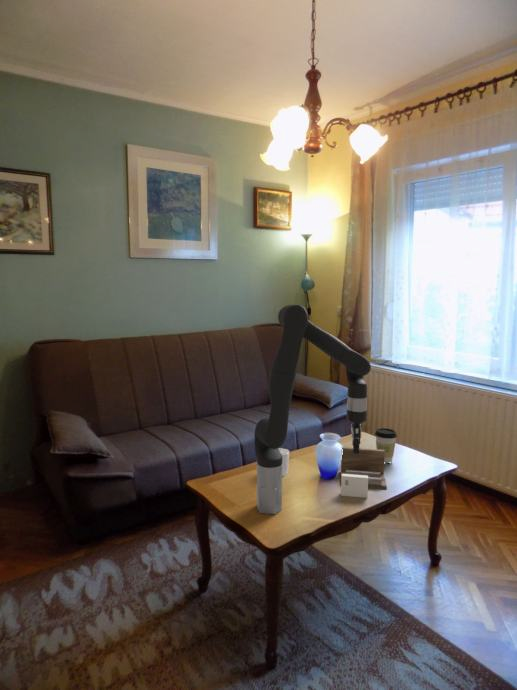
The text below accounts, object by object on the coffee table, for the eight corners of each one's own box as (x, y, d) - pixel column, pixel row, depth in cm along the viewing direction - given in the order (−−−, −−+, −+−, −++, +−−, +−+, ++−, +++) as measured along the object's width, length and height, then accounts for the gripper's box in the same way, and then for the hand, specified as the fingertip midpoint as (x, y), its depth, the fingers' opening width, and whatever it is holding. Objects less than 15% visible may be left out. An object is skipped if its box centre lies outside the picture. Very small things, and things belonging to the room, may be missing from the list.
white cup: (289, 470, 197) (289, 448, 196) (288, 477, 189) (289, 455, 188) (271, 469, 198) (271, 447, 196) (270, 476, 190) (270, 454, 189)
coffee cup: (369, 459, 210) (370, 428, 208) (387, 457, 213) (389, 426, 211) (381, 467, 201) (382, 435, 199) (400, 465, 204) (401, 433, 202)
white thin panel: (367, 498, 171) (368, 478, 170) (341, 495, 173) (341, 476, 172) (367, 495, 174) (367, 475, 173) (341, 492, 175) (341, 473, 174)
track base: (386, 489, 179) (387, 462, 177) (340, 485, 182) (341, 459, 181) (383, 475, 192) (384, 450, 191) (340, 471, 196) (341, 447, 194)
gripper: (368, 413, 161) (366, 456, 163) (365, 404, 175) (364, 443, 177) (347, 412, 163) (345, 455, 165) (346, 403, 177) (345, 442, 179)
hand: (355, 449), depth 171 cm, fingers open, 8 cm apart
